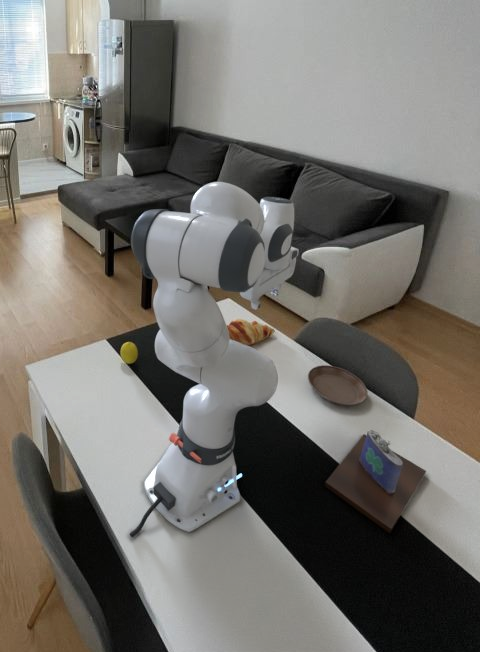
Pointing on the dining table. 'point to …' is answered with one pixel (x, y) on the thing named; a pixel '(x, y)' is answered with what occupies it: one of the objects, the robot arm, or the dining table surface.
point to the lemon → (129, 352)
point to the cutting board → (374, 488)
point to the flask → (381, 462)
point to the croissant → (248, 331)
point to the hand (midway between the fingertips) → (265, 301)
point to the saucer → (337, 385)
